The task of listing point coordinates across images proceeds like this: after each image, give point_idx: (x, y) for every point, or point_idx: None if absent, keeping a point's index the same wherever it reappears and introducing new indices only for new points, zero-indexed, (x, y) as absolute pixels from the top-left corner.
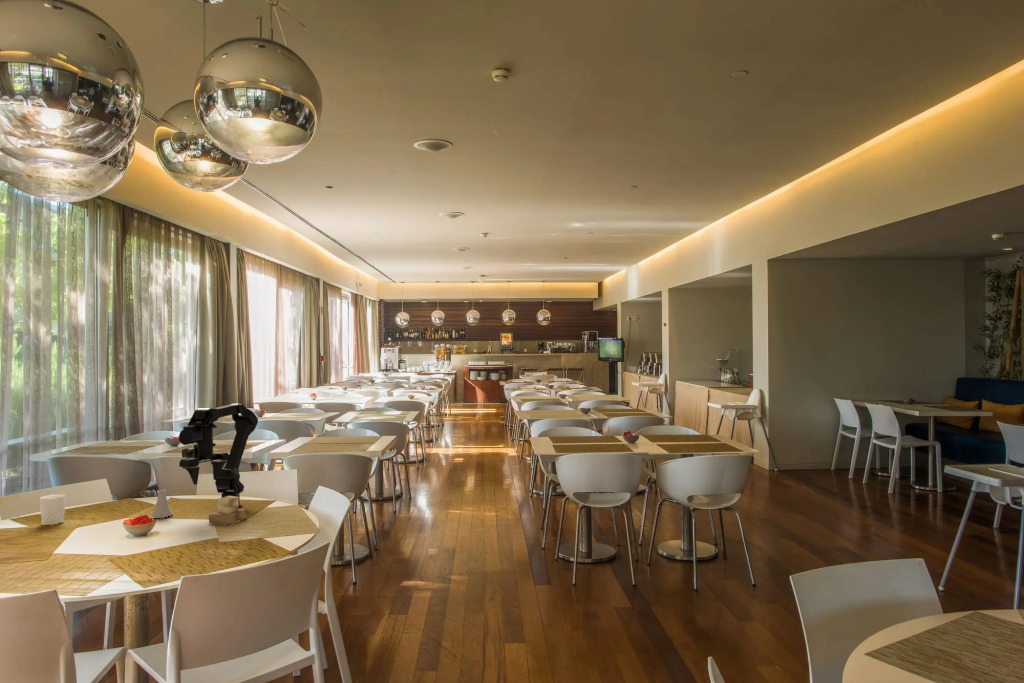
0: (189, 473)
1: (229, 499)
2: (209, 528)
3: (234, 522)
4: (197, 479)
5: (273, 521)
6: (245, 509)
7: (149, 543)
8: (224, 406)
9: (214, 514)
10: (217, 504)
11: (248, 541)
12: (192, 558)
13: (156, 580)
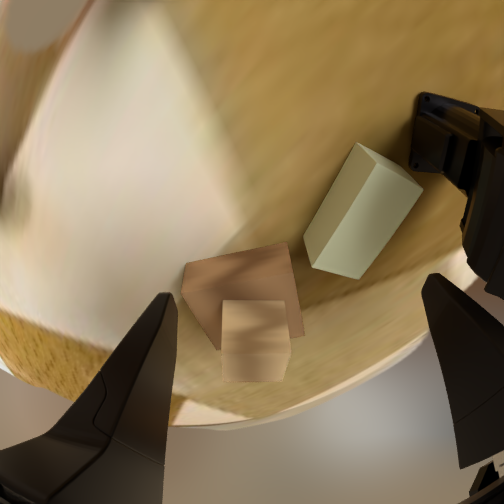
0: (76, 408)
1: (235, 381)
2: None
3: None
4: (168, 373)
5: (294, 364)
6: (303, 334)
7: (5, 277)
8: None
9: (191, 310)
10: (372, 161)
11: None
12: (63, 377)
13: (25, 379)
